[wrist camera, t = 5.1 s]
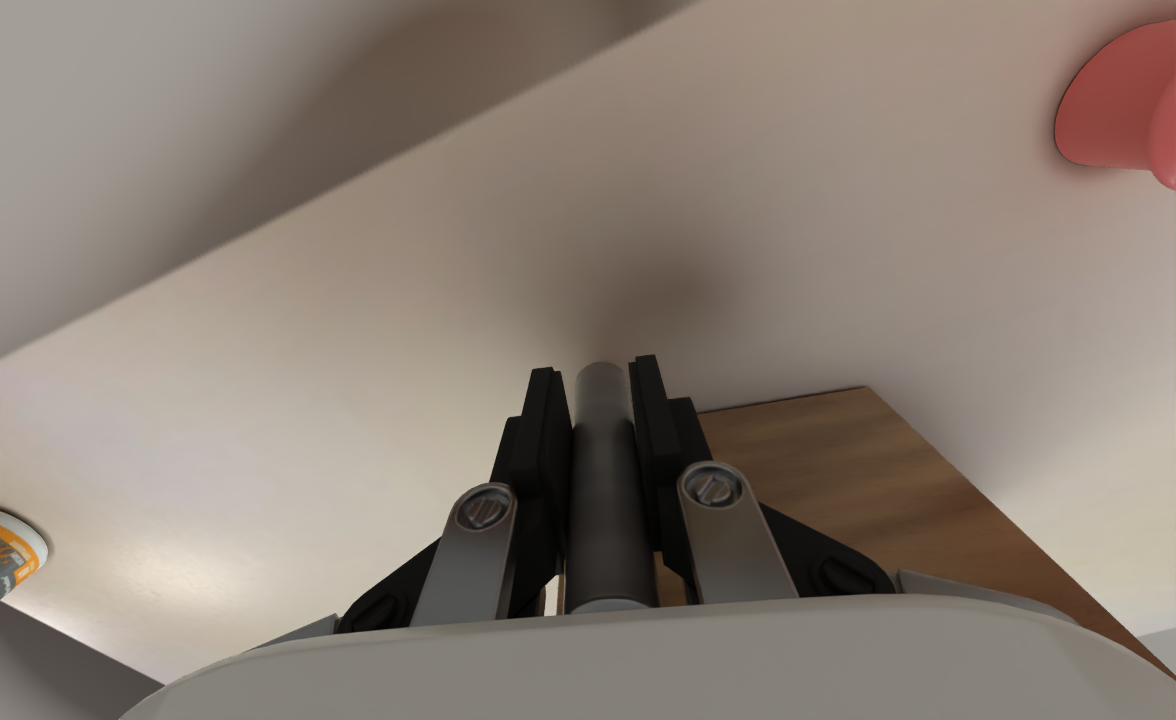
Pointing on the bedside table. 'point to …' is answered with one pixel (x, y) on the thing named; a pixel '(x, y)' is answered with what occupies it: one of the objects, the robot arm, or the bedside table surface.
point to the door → (802, 502)
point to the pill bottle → (18, 552)
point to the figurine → (1125, 105)
